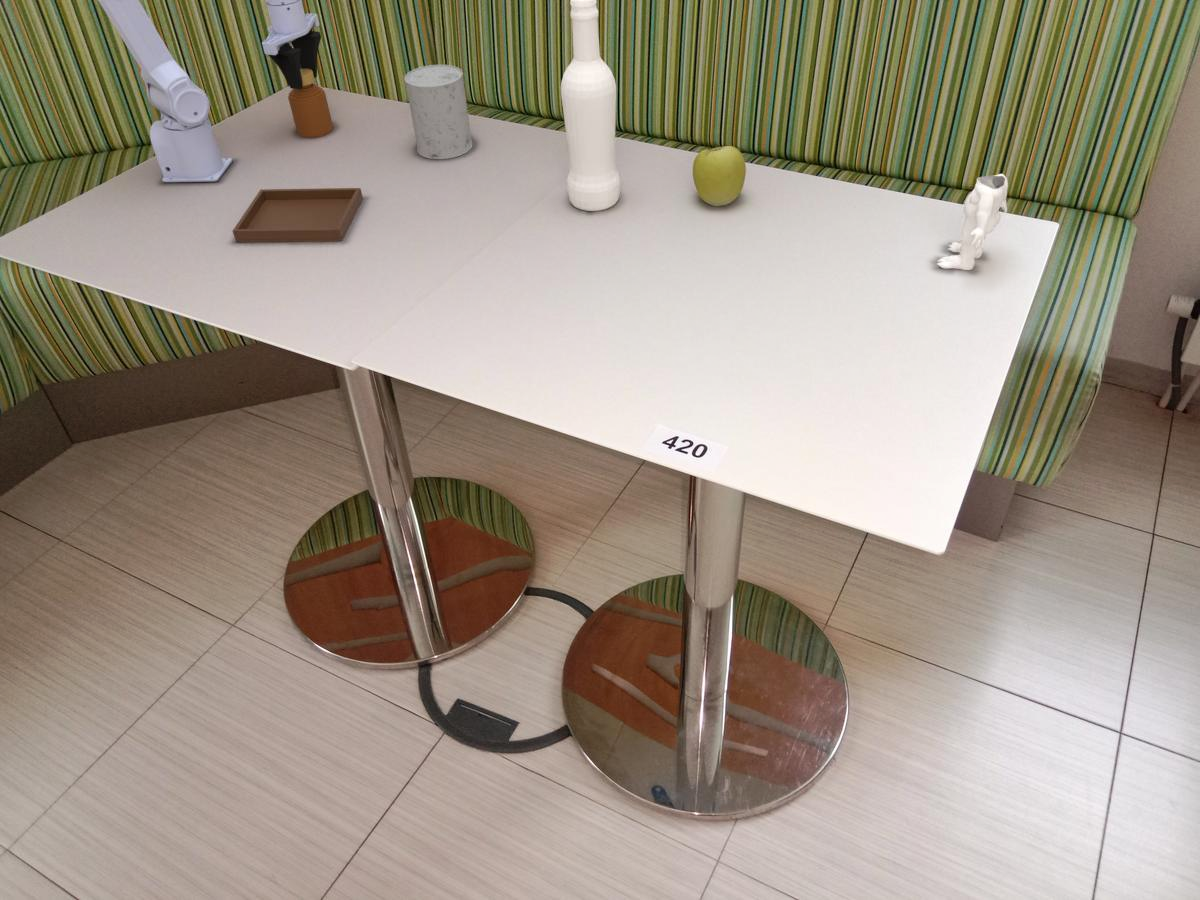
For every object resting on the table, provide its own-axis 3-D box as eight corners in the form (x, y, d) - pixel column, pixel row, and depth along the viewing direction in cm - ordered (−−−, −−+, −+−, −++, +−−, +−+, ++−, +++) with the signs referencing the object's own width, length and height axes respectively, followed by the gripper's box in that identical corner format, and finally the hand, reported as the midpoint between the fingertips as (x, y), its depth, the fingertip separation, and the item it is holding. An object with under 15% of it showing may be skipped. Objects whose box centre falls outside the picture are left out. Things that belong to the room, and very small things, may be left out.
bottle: (615, 214, 146) (607, 5, 126) (562, 211, 147) (546, 4, 127) (624, 189, 152) (618, -14, 132) (574, 186, 153) (561, -15, 133)
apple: (754, 204, 144) (737, 143, 138) (702, 219, 146) (683, 160, 140) (751, 180, 150) (735, 120, 144) (702, 195, 152) (683, 137, 146)
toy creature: (956, 236, 137) (974, 156, 129) (999, 246, 134) (1021, 165, 126) (927, 275, 130) (945, 193, 122) (972, 287, 127) (993, 204, 119)
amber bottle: (294, 138, 172) (280, 85, 165) (300, 124, 176) (286, 71, 170) (330, 136, 172) (317, 82, 165) (335, 121, 176) (323, 68, 170)
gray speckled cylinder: (438, 164, 161) (426, 91, 153) (406, 147, 167) (392, 76, 159) (483, 146, 166) (474, 74, 158) (451, 130, 171) (440, 60, 163)
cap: (306, 75, 170) (304, 66, 169) (319, 81, 168) (316, 71, 167) (287, 82, 168) (285, 73, 167) (299, 88, 166) (297, 78, 165)
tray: (236, 242, 145) (232, 231, 143) (263, 200, 155) (260, 189, 153) (341, 241, 144) (338, 229, 142) (363, 198, 153) (360, 187, 152)
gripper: (285, -15, 165) (305, 65, 174) (237, 13, 155) (261, 97, 164) (321, -13, 164) (339, 68, 173) (275, 15, 153) (297, 100, 162)
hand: (303, 82), depth 168 cm, fingers open, 4 cm apart
